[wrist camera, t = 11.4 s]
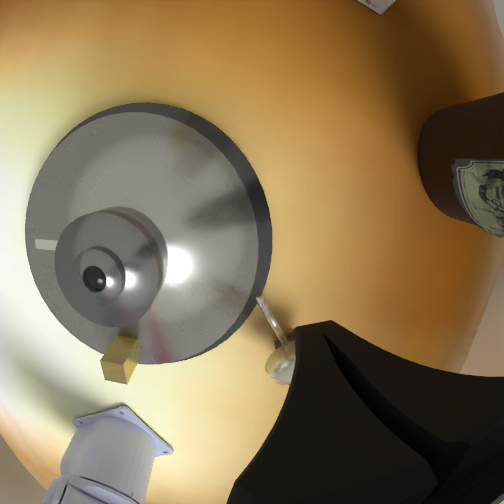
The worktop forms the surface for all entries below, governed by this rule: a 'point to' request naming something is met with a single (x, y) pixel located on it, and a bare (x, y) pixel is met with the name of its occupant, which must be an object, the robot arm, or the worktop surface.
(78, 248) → the cover
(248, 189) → the turntable base
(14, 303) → the worktop surface
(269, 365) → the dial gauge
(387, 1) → the supplement box
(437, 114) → the olive oil
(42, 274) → the turntable
